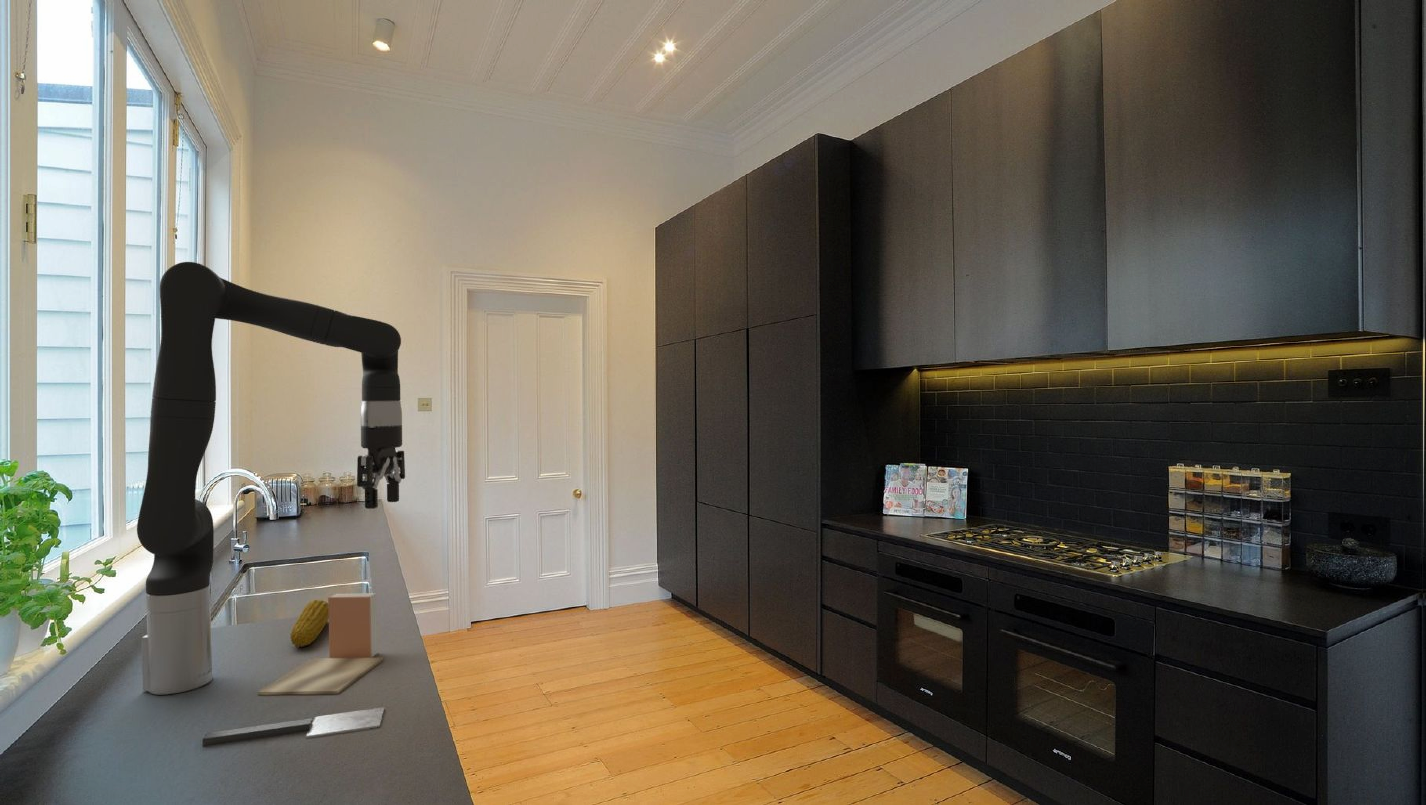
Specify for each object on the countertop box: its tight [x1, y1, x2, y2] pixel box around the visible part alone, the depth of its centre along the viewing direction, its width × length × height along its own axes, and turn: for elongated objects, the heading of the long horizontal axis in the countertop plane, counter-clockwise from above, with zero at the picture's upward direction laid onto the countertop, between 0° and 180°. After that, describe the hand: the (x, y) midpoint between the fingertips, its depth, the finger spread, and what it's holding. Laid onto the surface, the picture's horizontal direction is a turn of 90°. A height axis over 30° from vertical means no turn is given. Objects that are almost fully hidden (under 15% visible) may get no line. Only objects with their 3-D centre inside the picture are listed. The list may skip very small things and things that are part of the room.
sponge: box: [327, 592, 379, 658], centre depth 144 cm, size 8×3×12 cm, turn 88°
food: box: [290, 599, 329, 648], centre depth 157 cm, size 21×6×6 cm, turn 20°
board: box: [257, 657, 384, 696], centre depth 133 cm, size 14×16×1 cm
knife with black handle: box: [202, 706, 385, 748], centre depth 112 cm, size 24×7×1 cm, turn 108°
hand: (382, 504), depth 145 cm, fingers open, 8 cm apart
